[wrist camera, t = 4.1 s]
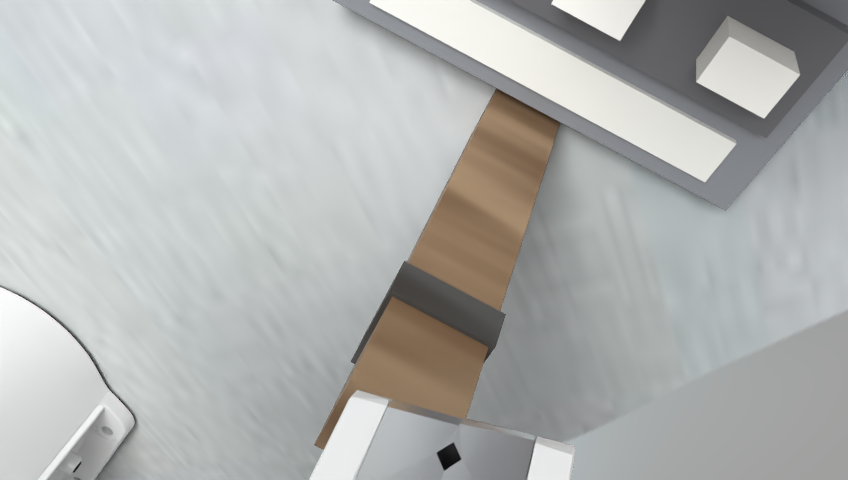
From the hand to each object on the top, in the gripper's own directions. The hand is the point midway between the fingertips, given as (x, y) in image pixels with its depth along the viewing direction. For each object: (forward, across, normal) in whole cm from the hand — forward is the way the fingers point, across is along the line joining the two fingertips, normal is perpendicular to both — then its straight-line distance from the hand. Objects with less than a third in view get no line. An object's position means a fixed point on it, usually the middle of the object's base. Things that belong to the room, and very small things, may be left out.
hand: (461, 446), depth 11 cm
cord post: (+24, +3, +8) cm, 25 cm away
